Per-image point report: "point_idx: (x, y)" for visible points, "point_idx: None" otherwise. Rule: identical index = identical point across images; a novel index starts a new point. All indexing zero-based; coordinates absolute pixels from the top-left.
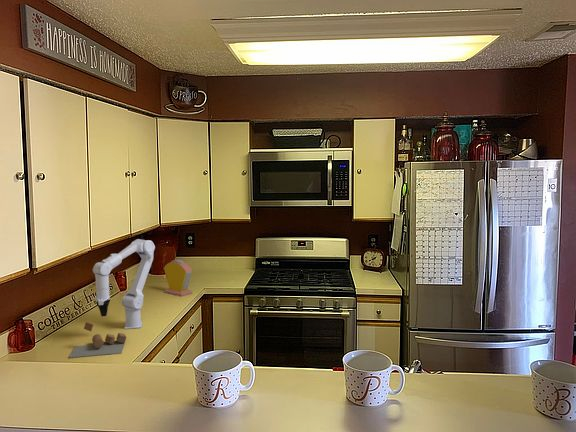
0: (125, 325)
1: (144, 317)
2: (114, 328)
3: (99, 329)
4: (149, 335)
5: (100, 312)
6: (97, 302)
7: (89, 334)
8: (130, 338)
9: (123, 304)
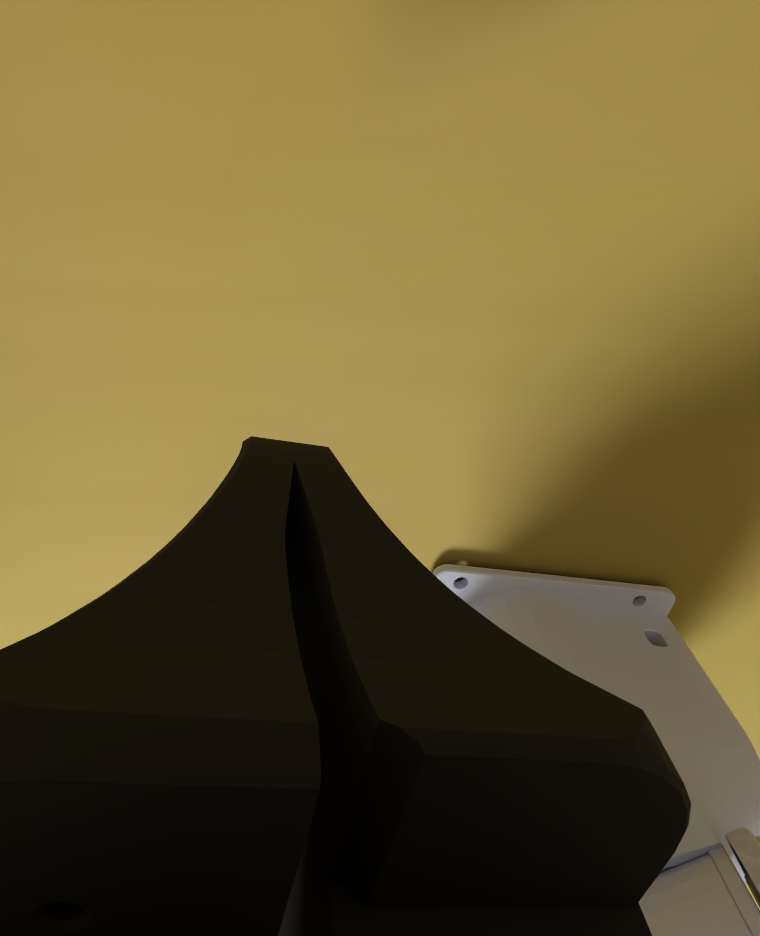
0: (551, 584)
1: (754, 738)
2: (558, 447)
3: (656, 229)
4: None
5: (222, 486)
6: (81, 824)
7: (471, 21)
8: (3, 615)
9: (737, 879)
